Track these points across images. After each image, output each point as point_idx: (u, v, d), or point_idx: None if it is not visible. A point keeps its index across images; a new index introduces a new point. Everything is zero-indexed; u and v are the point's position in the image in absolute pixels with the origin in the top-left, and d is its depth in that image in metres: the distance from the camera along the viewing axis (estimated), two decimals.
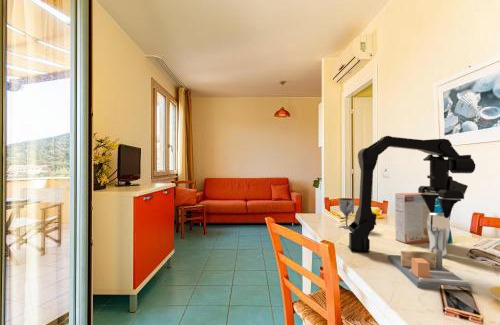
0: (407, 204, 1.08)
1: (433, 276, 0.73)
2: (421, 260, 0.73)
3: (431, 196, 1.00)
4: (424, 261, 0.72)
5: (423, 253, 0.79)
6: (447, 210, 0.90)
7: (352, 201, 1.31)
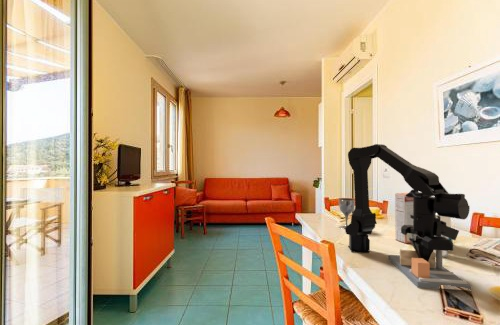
0: (407, 204, 1.08)
1: (433, 276, 0.73)
2: (421, 260, 0.73)
3: None
4: (424, 261, 0.72)
5: None
6: (425, 257, 0.77)
7: (352, 201, 1.31)
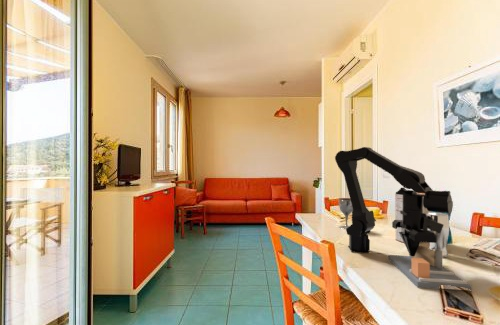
0: None
1: (433, 276, 0.73)
2: (421, 260, 0.73)
3: None
4: (424, 261, 0.72)
5: (424, 249, 0.83)
6: (413, 248, 0.84)
7: None
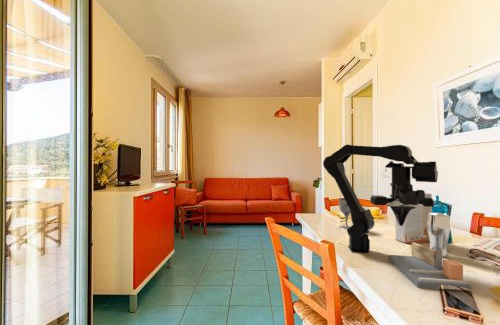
0: None
1: (433, 276, 0.73)
2: (453, 262, 0.72)
3: (402, 207, 0.90)
4: (457, 263, 0.71)
5: (425, 249, 0.83)
6: (396, 217, 0.90)
7: None
